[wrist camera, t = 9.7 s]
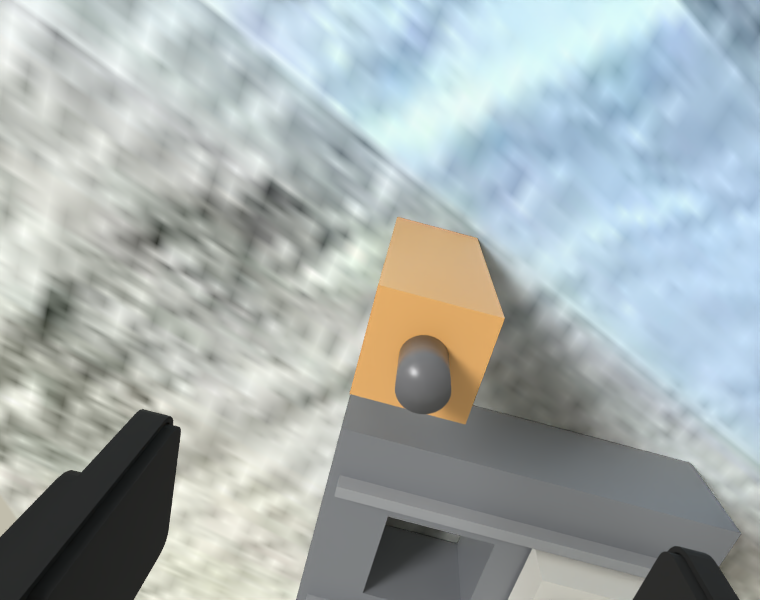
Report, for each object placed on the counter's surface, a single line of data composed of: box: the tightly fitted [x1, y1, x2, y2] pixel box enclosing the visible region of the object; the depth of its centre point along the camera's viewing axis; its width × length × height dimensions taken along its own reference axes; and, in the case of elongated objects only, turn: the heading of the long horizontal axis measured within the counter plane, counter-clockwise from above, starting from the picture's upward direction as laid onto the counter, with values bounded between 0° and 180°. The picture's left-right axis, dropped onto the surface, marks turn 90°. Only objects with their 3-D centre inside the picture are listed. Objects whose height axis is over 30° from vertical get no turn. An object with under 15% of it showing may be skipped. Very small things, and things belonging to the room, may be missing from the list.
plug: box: [350, 217, 505, 424], centre depth 20 cm, size 4×4×12 cm
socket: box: [296, 394, 741, 600], centre depth 28 cm, size 19×14×6 cm
